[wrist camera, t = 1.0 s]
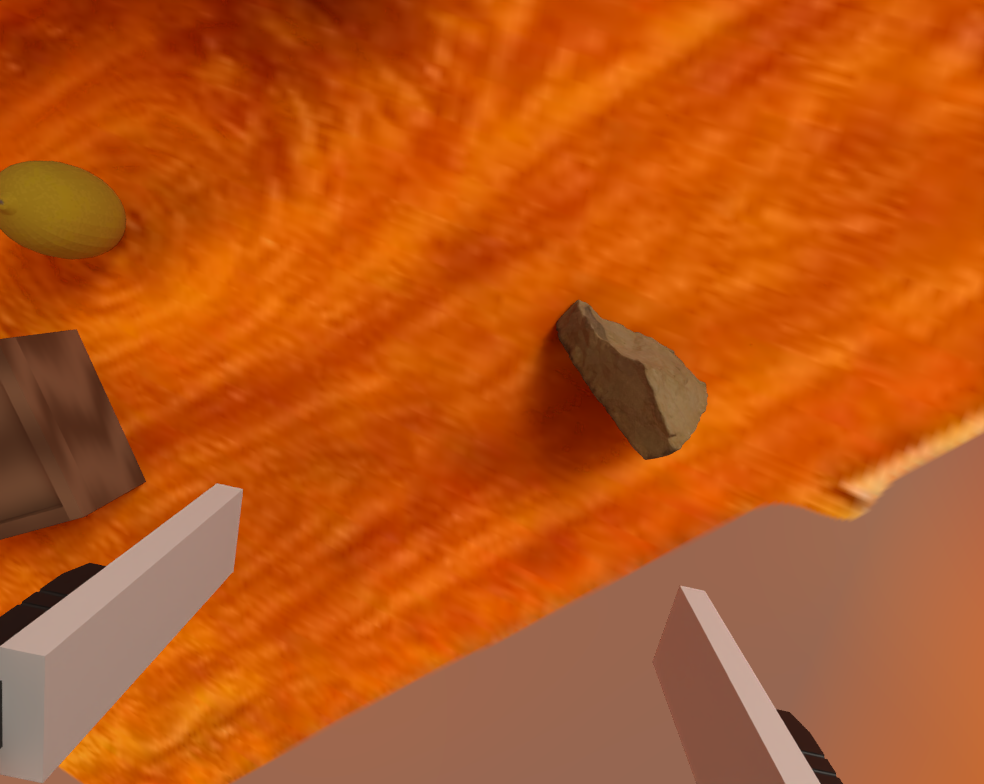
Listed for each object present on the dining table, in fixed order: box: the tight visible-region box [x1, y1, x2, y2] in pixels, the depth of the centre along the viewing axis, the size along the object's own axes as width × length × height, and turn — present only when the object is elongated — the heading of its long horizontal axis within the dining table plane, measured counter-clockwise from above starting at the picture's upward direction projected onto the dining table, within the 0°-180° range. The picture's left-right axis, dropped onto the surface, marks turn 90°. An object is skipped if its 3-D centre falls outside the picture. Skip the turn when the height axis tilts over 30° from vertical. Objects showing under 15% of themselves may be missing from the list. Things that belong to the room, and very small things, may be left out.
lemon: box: [0, 161, 126, 259], centre depth 31 cm, size 6×6×8 cm
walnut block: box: [0, 329, 146, 540], centre depth 36 cm, size 12×12×6 cm
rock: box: [556, 300, 708, 460], centre depth 33 cm, size 11×9×10 cm
